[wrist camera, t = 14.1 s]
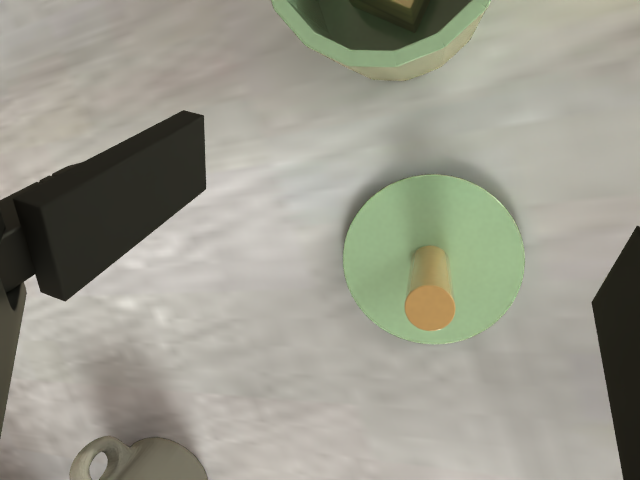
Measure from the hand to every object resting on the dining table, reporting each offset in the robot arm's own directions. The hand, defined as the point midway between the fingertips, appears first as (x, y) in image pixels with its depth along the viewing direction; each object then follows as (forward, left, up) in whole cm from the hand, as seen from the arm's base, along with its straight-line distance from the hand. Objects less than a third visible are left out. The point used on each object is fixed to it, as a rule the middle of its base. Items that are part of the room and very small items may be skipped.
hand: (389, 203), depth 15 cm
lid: (-7, +5, -22) cm, 24 cm away
